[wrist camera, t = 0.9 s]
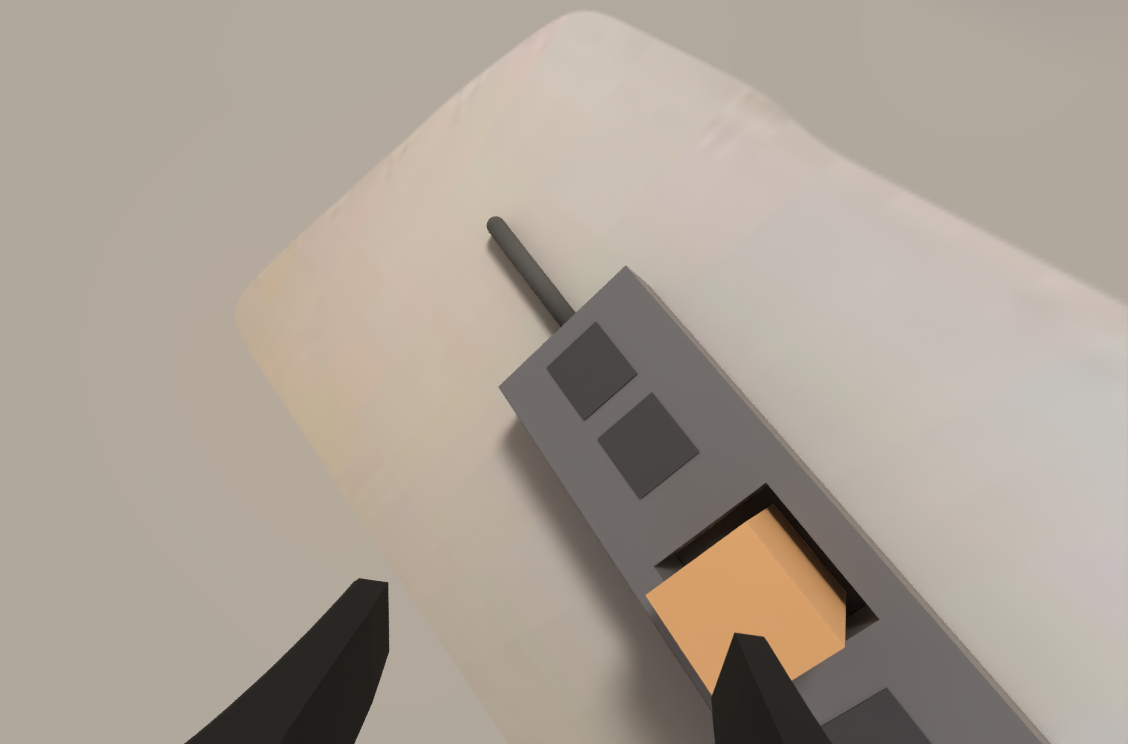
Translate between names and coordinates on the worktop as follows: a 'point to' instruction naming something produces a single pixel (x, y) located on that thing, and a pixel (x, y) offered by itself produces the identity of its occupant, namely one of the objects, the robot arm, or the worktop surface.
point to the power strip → (731, 507)
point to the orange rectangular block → (754, 599)
